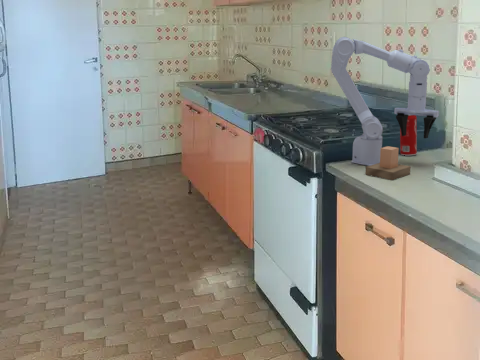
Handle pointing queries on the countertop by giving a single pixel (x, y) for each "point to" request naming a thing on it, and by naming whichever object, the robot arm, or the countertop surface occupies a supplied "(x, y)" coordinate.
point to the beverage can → (409, 137)
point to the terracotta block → (389, 157)
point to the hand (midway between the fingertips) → (414, 136)
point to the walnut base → (388, 171)
